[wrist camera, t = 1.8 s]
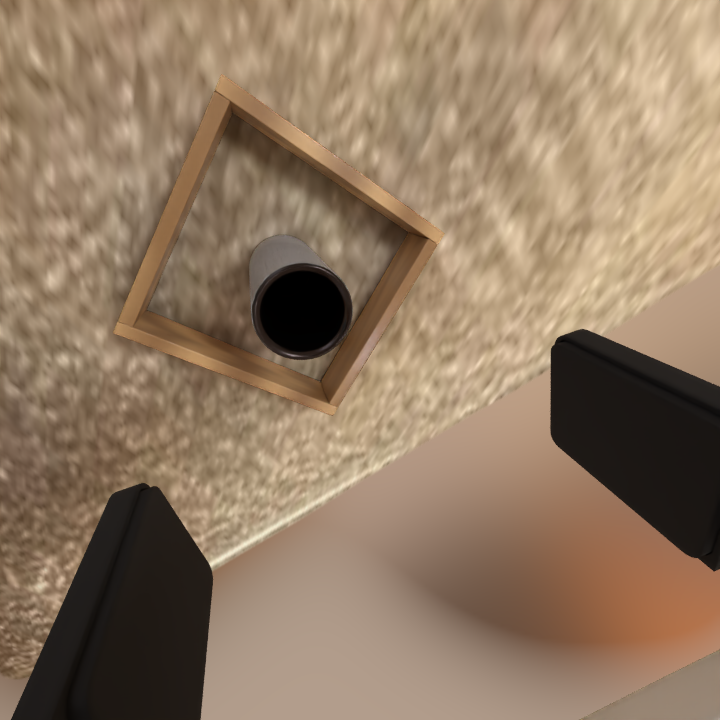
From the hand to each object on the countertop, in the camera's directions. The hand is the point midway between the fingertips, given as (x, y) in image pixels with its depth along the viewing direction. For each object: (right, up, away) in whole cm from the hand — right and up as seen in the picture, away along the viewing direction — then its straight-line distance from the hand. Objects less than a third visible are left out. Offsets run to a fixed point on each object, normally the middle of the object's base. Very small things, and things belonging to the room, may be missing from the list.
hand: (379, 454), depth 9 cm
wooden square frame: (-6, +8, +17) cm, 20 cm away
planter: (-6, +8, +17) cm, 20 cm away
